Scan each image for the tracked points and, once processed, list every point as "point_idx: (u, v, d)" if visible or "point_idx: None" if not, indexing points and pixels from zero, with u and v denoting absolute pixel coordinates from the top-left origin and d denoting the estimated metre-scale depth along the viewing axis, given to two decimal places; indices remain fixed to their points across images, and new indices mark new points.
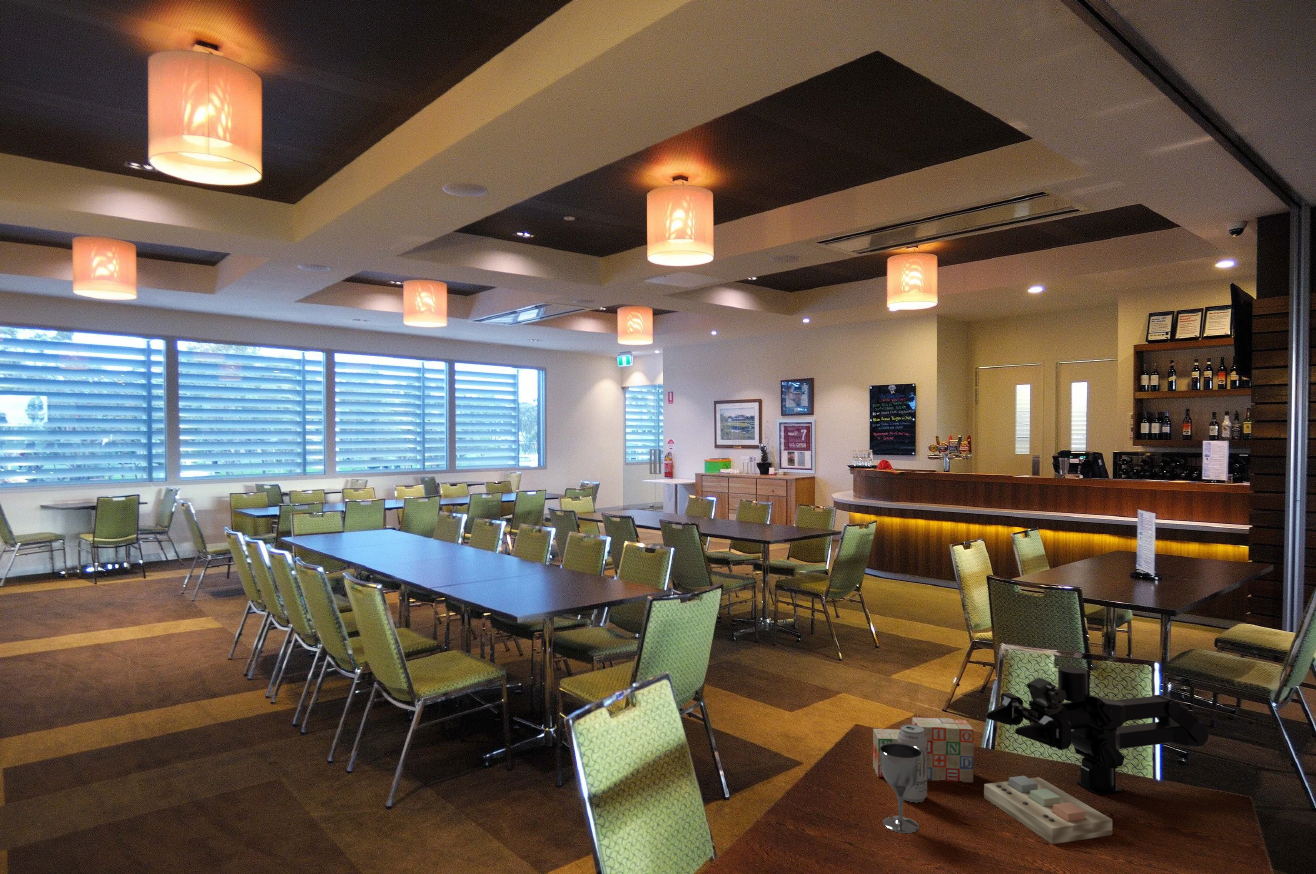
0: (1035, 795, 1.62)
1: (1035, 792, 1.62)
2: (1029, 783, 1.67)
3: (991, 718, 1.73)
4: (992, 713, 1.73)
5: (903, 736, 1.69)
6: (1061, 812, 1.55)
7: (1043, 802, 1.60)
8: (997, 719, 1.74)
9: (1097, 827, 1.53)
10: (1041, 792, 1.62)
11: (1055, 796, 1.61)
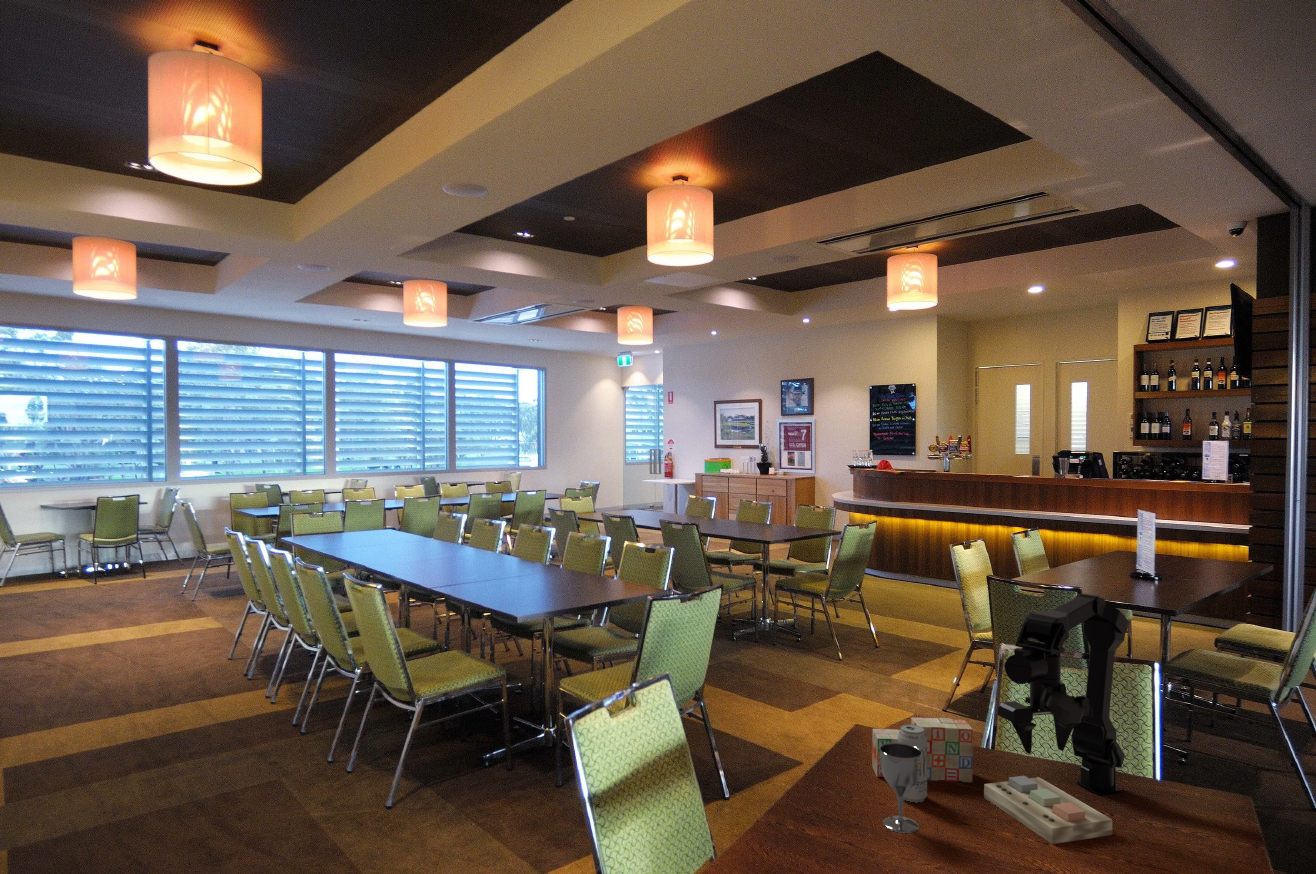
0: (1035, 795, 1.62)
1: (1035, 792, 1.62)
2: (1029, 783, 1.67)
3: None
4: None
5: (903, 736, 1.69)
6: (1061, 812, 1.55)
7: (1043, 802, 1.60)
8: None
9: (1097, 827, 1.53)
10: (1041, 792, 1.62)
11: (1055, 796, 1.61)
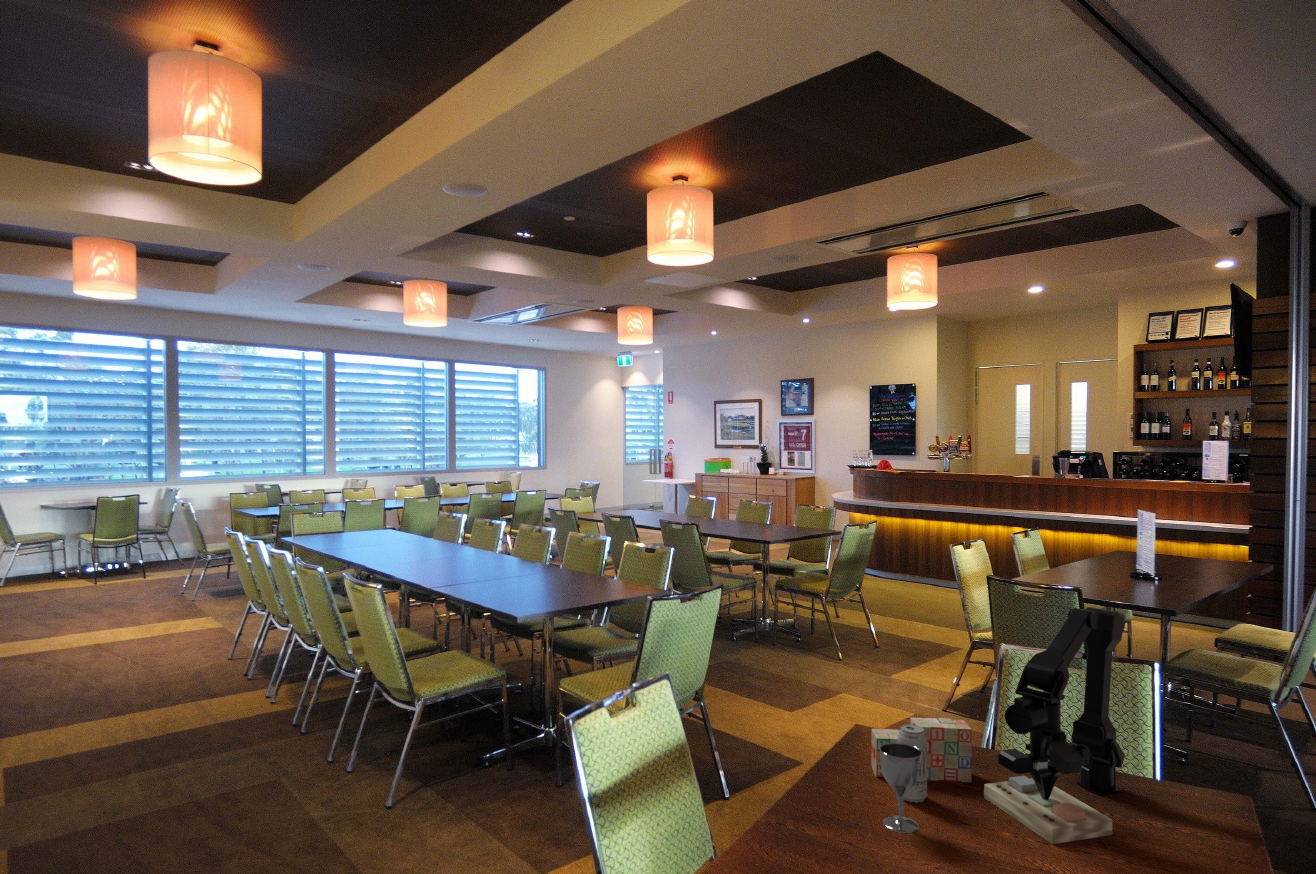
0: (1035, 800, 1.62)
1: (1035, 797, 1.62)
2: (1029, 783, 1.67)
3: None
4: None
5: (903, 736, 1.69)
6: (1061, 812, 1.55)
7: None
8: None
9: (1097, 827, 1.53)
10: (1041, 797, 1.62)
11: (1055, 801, 1.61)
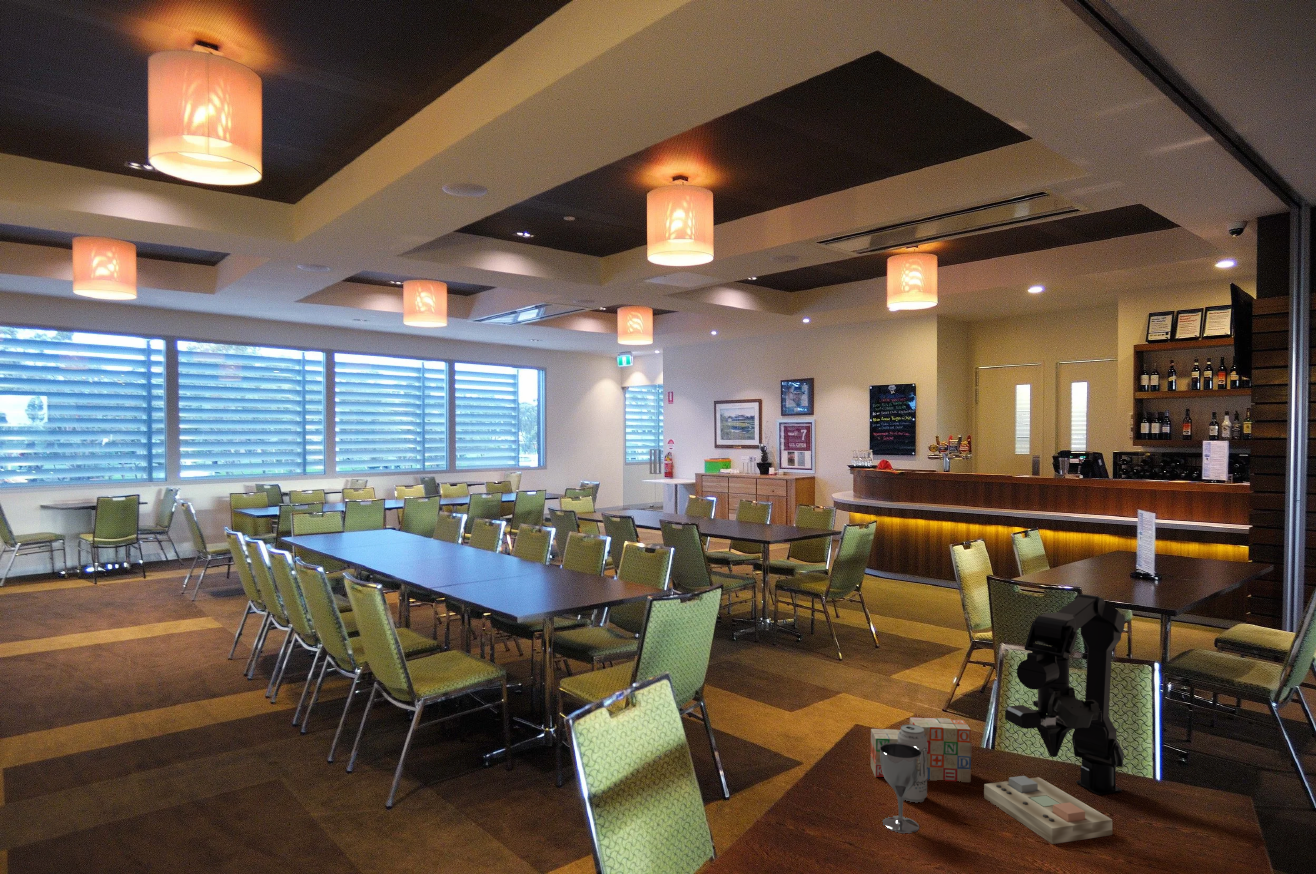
0: None
1: (1035, 799, 1.62)
2: (1029, 783, 1.67)
3: None
4: None
5: (903, 736, 1.69)
6: (1061, 812, 1.55)
7: None
8: None
9: (1097, 827, 1.53)
10: (1041, 799, 1.62)
11: (1055, 803, 1.61)
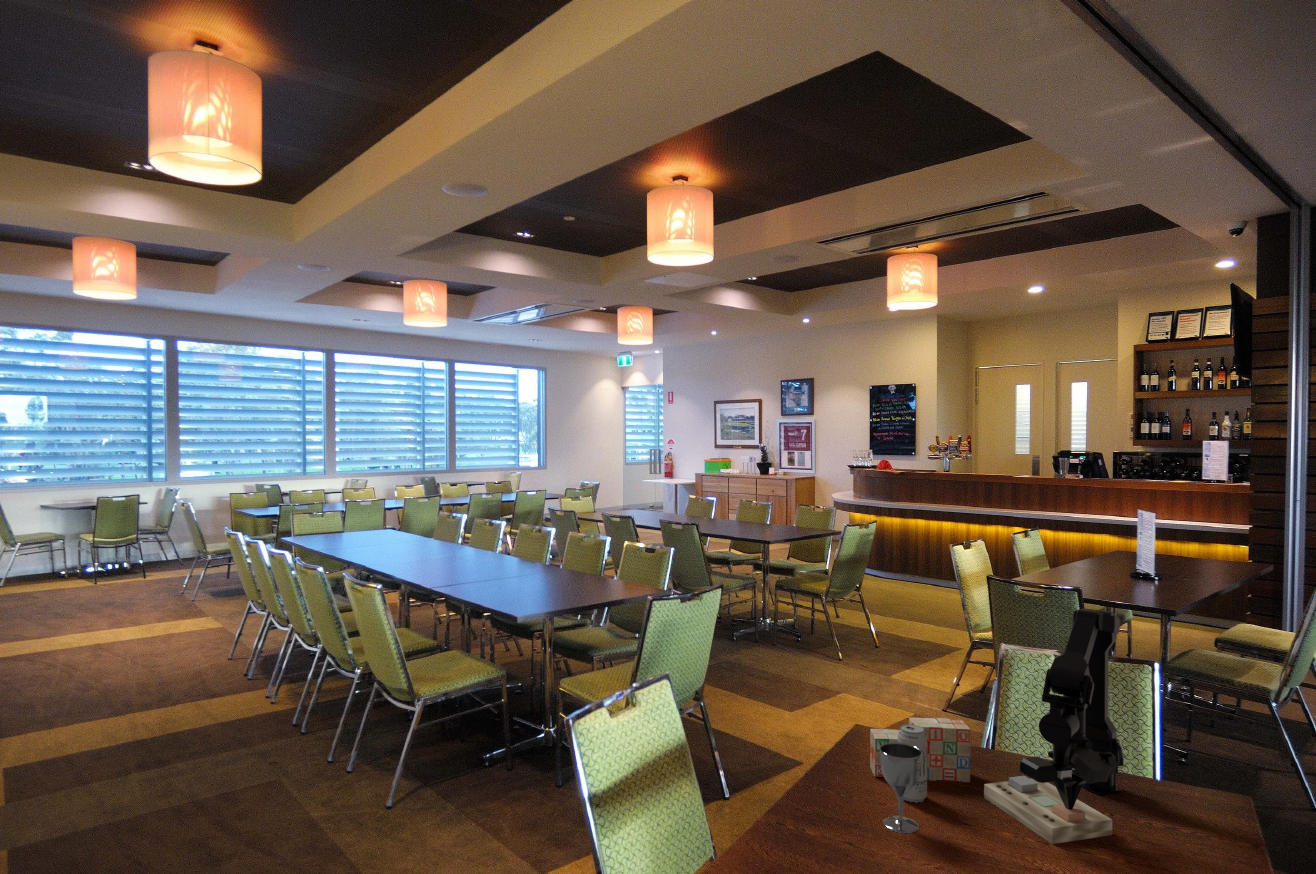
0: None
1: (1035, 799, 1.62)
2: (1029, 783, 1.67)
3: None
4: None
5: (903, 736, 1.69)
6: (1061, 813, 1.55)
7: None
8: None
9: (1097, 827, 1.53)
10: (1041, 799, 1.62)
11: (1055, 803, 1.61)
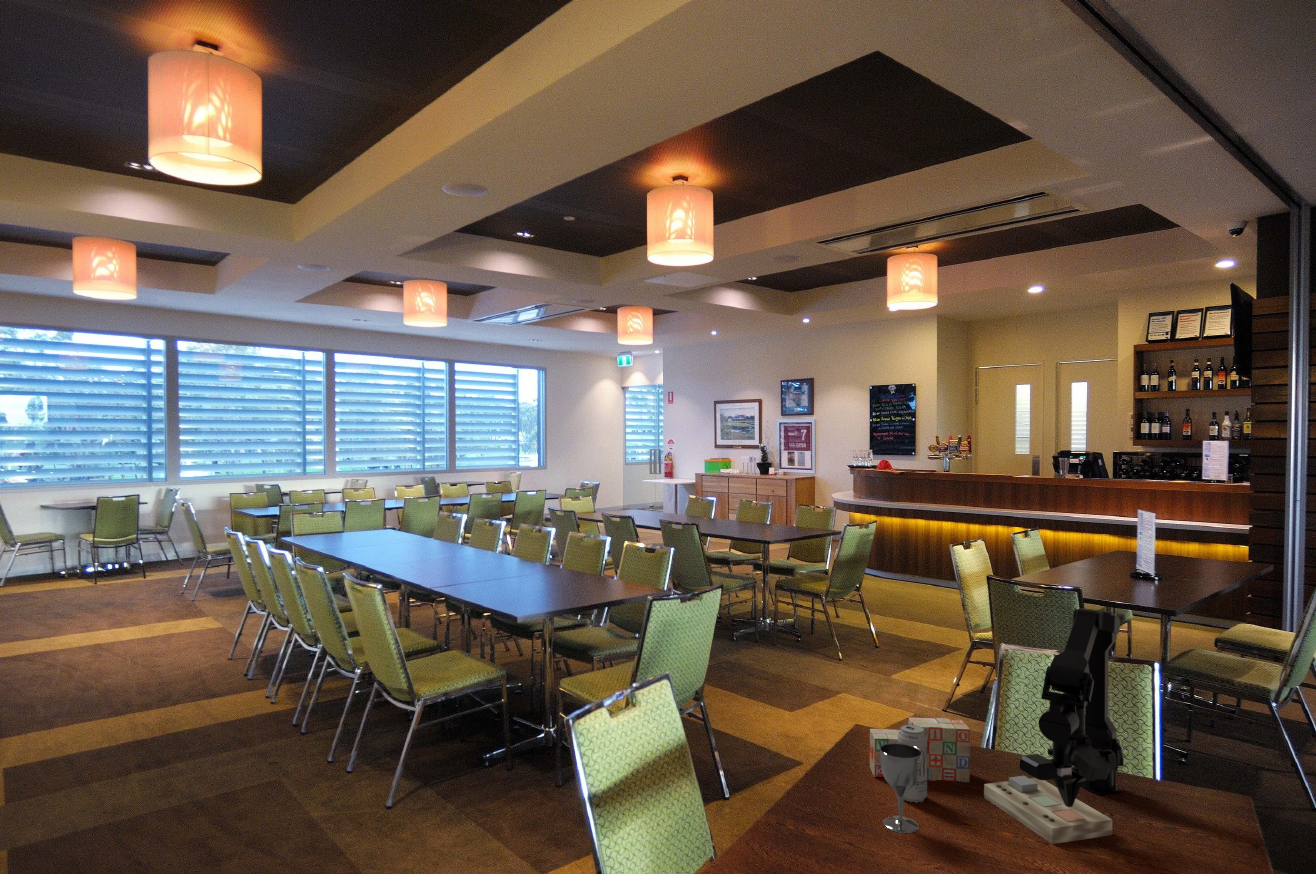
0: None
1: (1035, 799, 1.62)
2: (1029, 783, 1.67)
3: None
4: None
5: (903, 736, 1.69)
6: None
7: None
8: None
9: (1097, 827, 1.53)
10: (1041, 799, 1.62)
11: (1055, 803, 1.61)
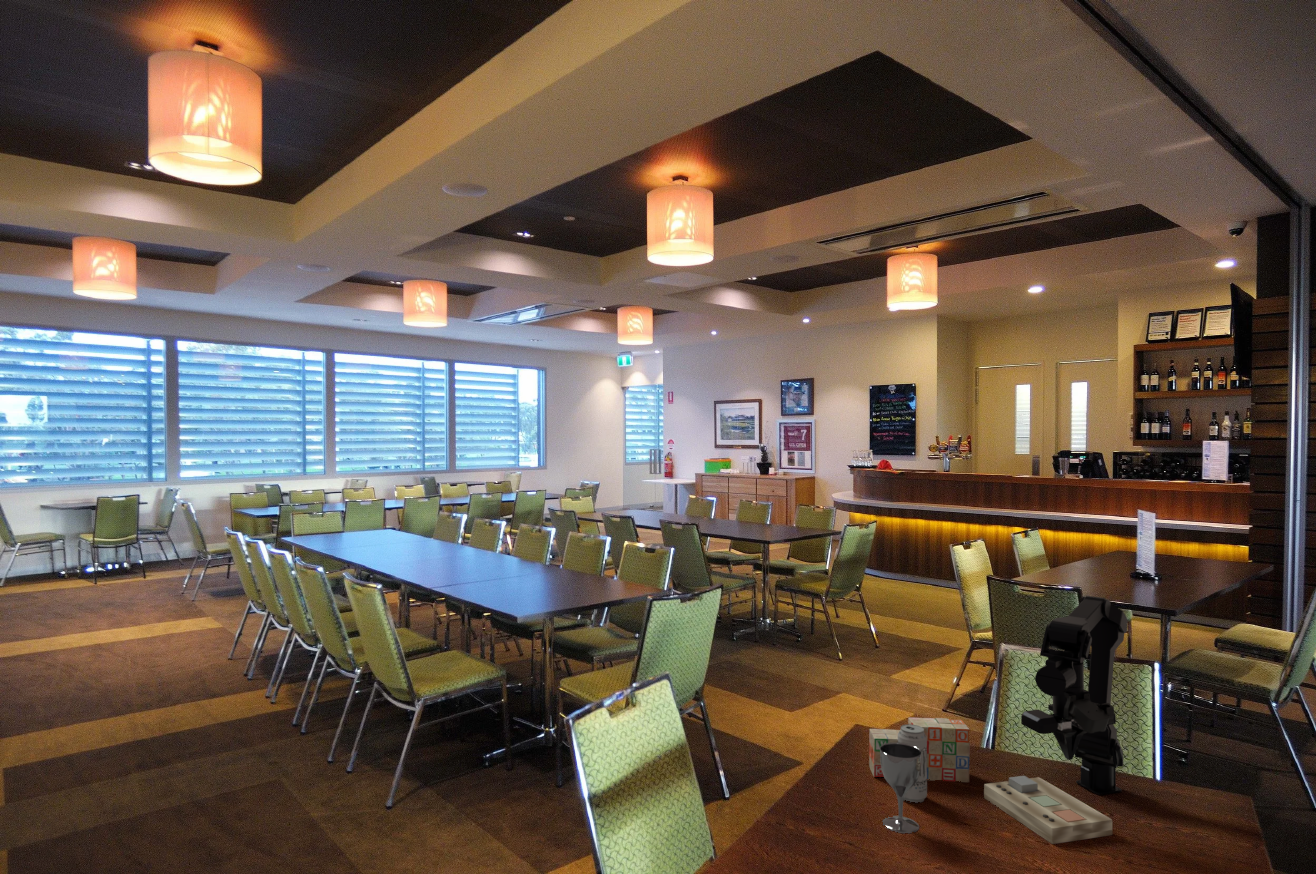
0: None
1: (1035, 799, 1.62)
2: (1029, 783, 1.67)
3: None
4: None
5: (903, 736, 1.69)
6: None
7: None
8: None
9: (1097, 827, 1.53)
10: (1041, 799, 1.62)
11: (1055, 803, 1.61)
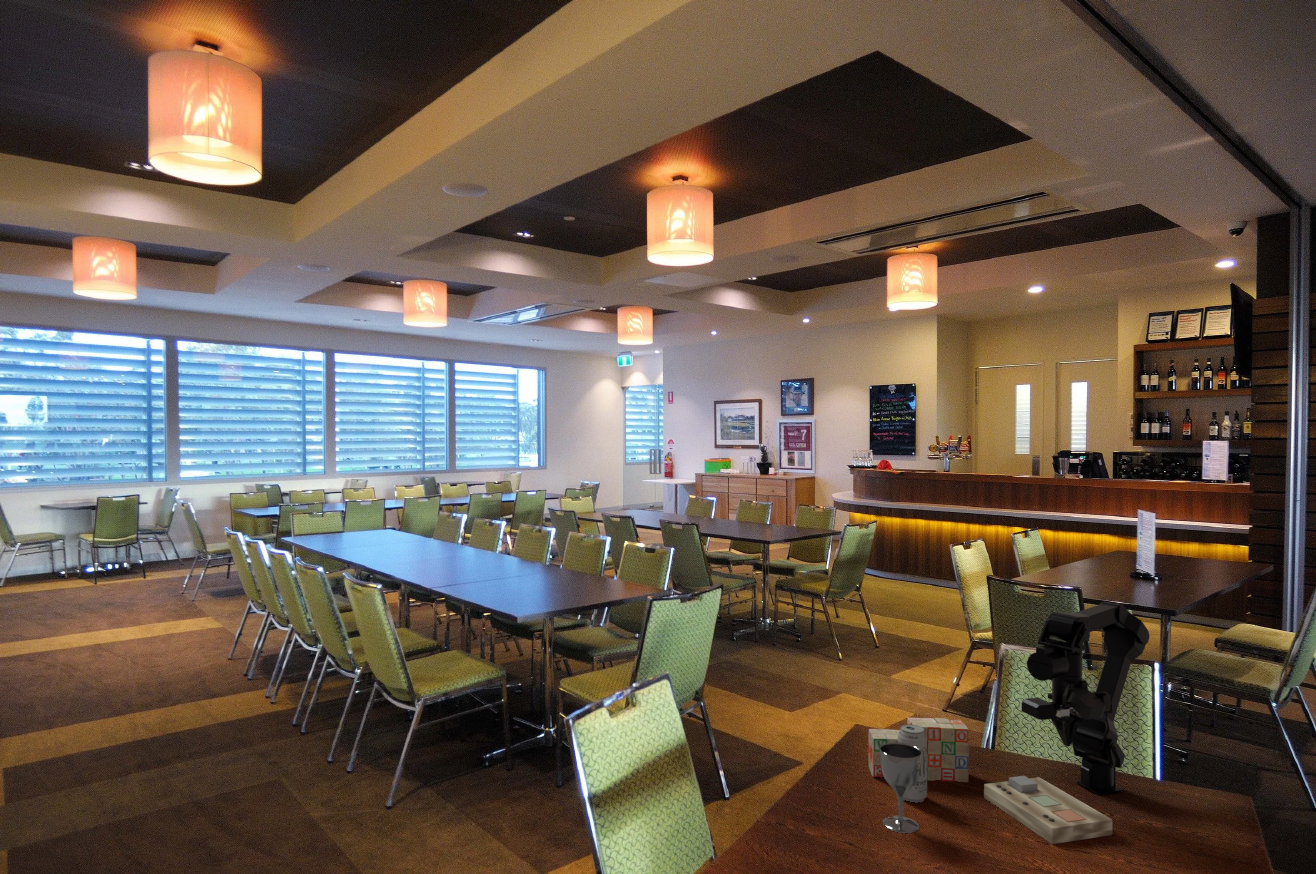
0: None
1: (1035, 799, 1.62)
2: (1029, 783, 1.67)
3: None
4: None
5: (903, 736, 1.69)
6: None
7: None
8: None
9: (1097, 827, 1.53)
10: (1041, 799, 1.62)
11: (1055, 803, 1.61)
